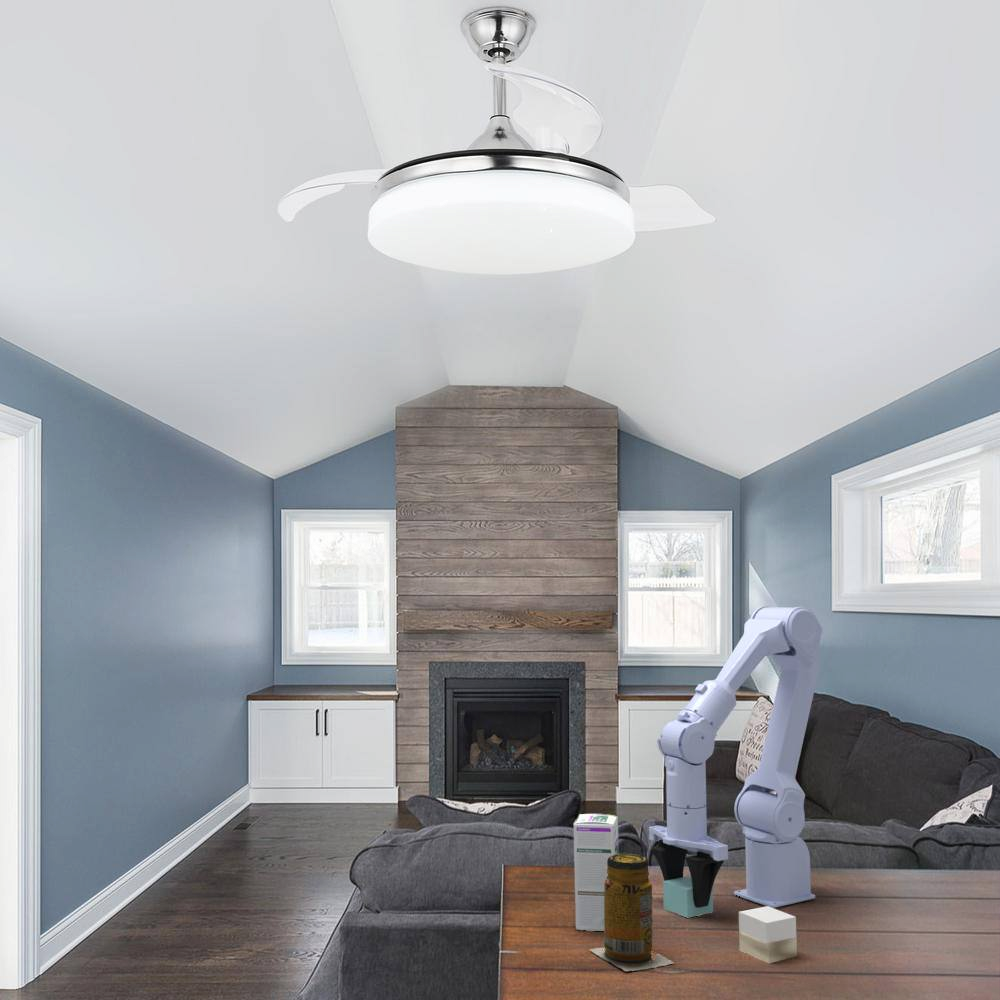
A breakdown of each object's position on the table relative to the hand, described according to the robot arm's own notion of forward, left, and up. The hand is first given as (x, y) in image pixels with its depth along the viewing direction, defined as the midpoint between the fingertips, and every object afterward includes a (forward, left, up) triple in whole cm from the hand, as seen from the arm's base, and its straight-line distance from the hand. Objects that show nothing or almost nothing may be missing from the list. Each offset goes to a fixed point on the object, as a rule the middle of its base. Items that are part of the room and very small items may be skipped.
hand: (688, 901), depth 142 cm
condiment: (+19, +10, -2) cm, 22 cm away
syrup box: (+15, -2, -2) cm, 15 cm away
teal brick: (0, 0, -1) cm, 1 cm away
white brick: (+3, +18, +1) cm, 18 cm away
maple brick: (+3, +18, -2) cm, 18 cm away
